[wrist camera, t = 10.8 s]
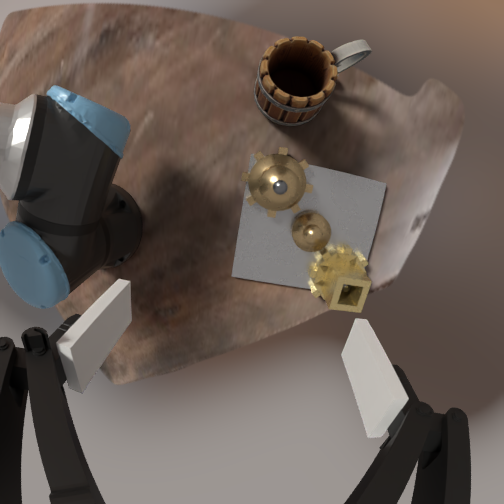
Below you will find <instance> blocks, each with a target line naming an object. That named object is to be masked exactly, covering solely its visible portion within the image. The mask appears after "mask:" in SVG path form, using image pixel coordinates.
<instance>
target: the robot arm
mask: <svg viewBox="0 0 504 504" xmlns="http://www.w3.org/2000/svg"><path fill="white" fill-rule="evenodd" d="M47 95H48V96H41V95H36V94H32V95H30V96H29V97H27V98H26V99H24V100H23V101H21V102H20V103H19V104H16V105H12V104H6V103H0V188H1V190H2V191H3V193H4V194H5V196H6V197H7V199H9V200H19V203H18V210H17V216H16V220H15V221H12V222H9V223H8V224H7V225H6V227H5V228H4V229H2V231H1V232H0V266H1V269H2V271H3V274H4V276H5V278H6V279H7V281H8V283H9V285H10V286H11V287H12V289H13V290H14V291H15V292H16V294H17V295H18V296H19V297H21V299H23V300H24V301H25V302H26V303H28V304H30V305H32V306H34V307H37V308H42V309H45V308H49V307H53V306H54V305H56V304H57V303H59V302H60V301H62V300H65V299H66V298H67V297H68V295H69V294H70V293H71V292H72V291H73V290H75V289H76V288H77V287H78V286H79V285H80V284H82V283H83V282H84V281H85V280H86V279H88V278H89V277H90V276H91V275H92V274H94V273H95V272H96V271H97V270H99V269H106V268H112V267H116V266H118V265H120V264H122V263H124V262H125V261H126V260H127V259H128V258H130V257H131V256H132V255H133V254H134V252H135V251H136V249H137V248H138V246H139V243H140V240H141V235H142V220H141V215H140V212H139V209H138V207H137V205H136V203H135V201H134V200H133V198H132V197H131V196H130V195H129V194H128V193H127V192H126V191H125V190H124V189H123V188H121V187H119V186H117V185H115V184H112V181H113V179H114V176H115V173H116V170H117V167H118V165H119V162H120V159H122V158H123V150H124V147H125V145H126V142H127V139H128V136H129V133H130V124H129V121H128V120H127V119H126V118H125V117H124V116H122V115H120V114H118V113H116V112H114V111H112V110H110V109H108V108H106V107H104V106H102V105H99V104H97V103H95V102H93V101H91V100H88V99H86V98H84V97H82V96H79V95H77V94H75V93H73V92H70V91H68V90H66V89H64V88H61V87H59V86H56V85H54V86H52V87H51V89H50V90H49V91H48V92H47ZM131 321H132V315H131V281H127V280H123V279H118V280H117V281H116V282H115V283H114V284H113V285H112V286H111V287H110V288H109V289H108V290H107V291H106V292H105V293H104V294H103V295H102V296H101V297H100V298H99V299H98V300H97V301H96V302H95V303H94V304H93V305H92V306H91V307H90V308H89V309H88V310H87V311H86V312H85V313H84V314H83V315H79V314H75V315H73V316H71V317H69V318H68V319H67V320H66V321H65V322H64V323H63V324H62V325H61V326H60V327H59V329H57V330H56V331H55V332H54V333H53V334H52V335H51V336H50V337H49V338H48V334H47V331H46V330H44V329H43V328H40V327H32V328H29V329H27V330H25V331H24V332H23V334H22V336H21V338H22V342H23V345H24V348H18V347H15V345H14V342H13V340H12V339H10V338H8V337H1V338H0V504H22V496H21V453H22V438H23V426H24V417H25V409H26V402H27V396H28V390H29V396H30V403H31V410H32V416H33V423H34V428H35V433H36V438H37V443H38V447H39V451H40V455H41V459H42V463H43V466H44V470H45V473H46V477H47V480H48V483H49V486H50V490H51V494H50V495H49V498H50V502H51V504H105V502H104V500H103V498H102V496H101V494H100V491H99V489H98V487H97V485H96V483H95V480H94V478H93V476H92V473H91V471H90V469H89V466H88V464H87V462H86V459H85V456H84V453H83V450H82V448H81V445H80V442H79V439H78V436H77V433H76V430H75V427H74V424H73V420H72V417H71V414H70V410H69V407H68V403H67V399H66V395H65V391H64V388H63V384H64V383H65V381H66V380H67V383H68V386H69V388H70V389H72V390H75V391H77V392H80V393H83V392H84V390H85V389H86V388H87V386H88V384H89V383H90V381H91V380H92V378H93V377H94V375H95V374H96V372H97V371H98V369H99V368H100V366H101V365H102V363H103V362H104V360H105V359H106V357H107V356H108V354H109V353H110V351H111V350H112V349H113V347H114V346H115V344H116V343H117V341H118V340H119V338H120V337H121V336H122V334H123V333H124V331H125V330H126V328H127V327H128V326H129V324H130V323H131ZM341 356H342V359H343V362H344V365H345V368H346V370H347V374H348V377H349V380H350V383H351V386H352V389H353V392H354V395H355V398H356V401H357V404H358V407H359V411H360V413H361V417H362V420H363V424H364V427H365V430H366V434H367V437H368V438H376V437H382V436H383V435H384V433H385V432H386V431H387V430H388V432H389V437H388V438H387V439H386V440H385V442H384V443H383V444H382V446H381V447H380V449H381V450H380V451H379V453H378V455H377V456H376V458H375V459H374V461H373V463H372V464H371V466H370V467H369V469H368V470H367V472H366V474H365V475H364V477H363V478H362V480H361V481H360V483H359V484H358V485H357V487H356V488H355V490H354V491H353V492H352V494H351V495H350V496H349V498H348V499H347V501H346V502H345V503H344V504H397V502H398V500H399V498H400V497H401V495H402V493H403V491H404V489H405V487H406V485H407V483H408V481H409V479H410V476H411V474H412V472H413V470H414V468H415V465H416V463H417V461H418V467H417V474H416V480H415V486H414V492H413V497H412V502H411V504H470V496H471V456H470V439H469V427H468V418H467V415H466V414H465V413H464V412H463V411H462V410H461V409H458V408H450V409H449V410H448V411H447V413H446V414H440V413H434V411H433V409H432V408H431V407H430V406H429V405H428V404H426V403H424V402H420V401H419V399H418V398H417V396H416V394H415V392H414V390H413V388H412V386H411V384H410V382H409V381H408V379H407V377H406V375H405V373H404V371H403V370H402V369H401V368H400V367H399V366H398V365H392V364H391V363H390V361H389V359H388V357H387V355H386V353H385V351H384V350H383V348H382V346H381V344H380V342H379V340H378V339H377V337H376V335H375V333H374V331H373V329H372V328H371V326H370V324H369V322H368V320H367V319H358V318H356V319H355V321H354V324H353V326H352V329H351V332H350V334H349V337H348V339H347V342H346V345H345V347H344V349H343V352H342V354H341ZM418 458H419V459H418Z"/></svg>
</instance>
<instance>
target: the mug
mask: <svg viewBox="0 0 504 504" xmlns="http://www.w3.org/2000/svg"><path fill="white" fill-rule="evenodd" d="M371 52H372V51H371V49H370V47H369V46H368V45H367V43H366V41H365V40H357V41H353V42H350V43H347V44H345V45H342V46H340V47H338V48H337V49H335V50H333V51H332V52H329V51H325V50H324V46H322V44H320V43H318V42H317V41H314V40H311V41H308V40H307V39H306V38H305V37H292V39H291V40H290V39H288V38H284V39H280V40H279V41H277V42H275V44H274V46H270V47H269V48H268V49H267V50H266V52H265V54H264V55H263V57H262V59H261V61H260V63H259V68H258V74H257V79H256V82H255V88H254V97H255V102H256V104H257V106H258V109H259V110H260V111H261V112H262V114H263V115H264V116H265V117H267V118H268V119H269V120H271V121H273V122H275V123H277V124H280V125H285V126H298V125H301V124H304V123H307V122H308V121H310V120H311V119H313V118H314V117H315V116H316V115H317V114H318V113H319V111H320V110H321V108H322V106H323V104H324V103H325V102H326V101H327V100H328V98H329V97H330V96H331V94H332V93H333V90H334V88H335V86H336V80H337V77H338V76H339V75H338V73H340V72H342V71H344V70H346V69H348V68H350V67H351V66H353V65H355V64H356V63H358V62H360V61H361V60H363V59H364V58H366V57H367V56H368V55H369V54H370V53H371Z"/></svg>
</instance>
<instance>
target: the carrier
mask: <svg viewBox="0 0 504 504" xmlns="http://www.w3.org/2000/svg"><path fill="white" fill-rule="evenodd" d="M287 152H288V148H283V147H279V150H278V154H271V155H268V156H263V154H262V153H261V152H260V151H259V152H258V153H256V154H251V158H250V164H249V170H248V172H243V173H242V179H241V181H246V188H245V194H244V200H243V206H242V213H241V219H240V225H239V231H238V238H237V244H236V251H235V257H234V264H233V270H232V277H238V278H244V279H250V280H256V281H262V282H268V283H274V284H281V285H287V286H293V287H300V288H306V289H311V287H312V286H314V284H313V281H312V278H311V277H309V275H308V269H309V266H314V267H315V265H316V261H317V260H318V259H320V258H321V257H322V255H321V253H320V251H321V250H323V249H324V248H326V249H327V250H328V252H330V251H332V250H333V249H339V250H341V248H342V244H345V245H349V246H350V247H351V248H352V249H353V250H352V252H354V253H355V254H356V255H357V256H358V257H359V256H360V255H361V254H362V255H363V256H364V257H365V258H366V260H367V259H368V256H369V252H370V249H371V245H372V242H373V238H374V234H375V231H376V227H377V223H378V219H379V215H380V211H381V206H382V202H383V198H384V193H385V189H386V183H383V182H379V181H375V180H372V179H368V178H364V177H360V176H356V175H352V174H348V173H344V172H340V171H336V170H332V169H327V168H323V167H318V166H314V165H309V164H308V163H307V162H306V160H305V159H303V160H301V161H300V162H297V161H296V160H294V159H293V158H291V157H289V156H287ZM364 269H365V267H364ZM350 289H351V285H347V284H343V287H342V290H341V291H343V292H347V291H349V290H350Z"/></svg>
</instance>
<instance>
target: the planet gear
mask: <svg viewBox="0 0 504 504" xmlns="http://www.w3.org/2000/svg"><path fill="white" fill-rule="evenodd" d="M352 250H353V249H352V248H351V247H350V246H349V245H345V244H342V248H341V250H339V249H333V250H332V251H330V252H328V250H327V249H326V248H324V249H323V250H321V251H320V253H321V255H322V257H321V258H320V259H318V260H317V261H316V265H315V267H314V266H309V269H308V275H309V277H311V278H312V281H313V284H314V286H312V287H311V291H312V294H313V295H314V297H315V298H317V297H319V296H320V295H321V296H322V297H323V299H324V300H326V303H327V305H328V308H329V309H333V310H342V311H349V312H358V313H361V311H362V308H363V305H364V303H365V300H366V297H367V294H368V291H369V288H370V285H371V282H372V281H371V280H370V279H369V278H368V276H367V275H366V273H367V272H366V271H365V269H364V267H365V266H367V265H368V262H367V260H366V258H365V257H364V256H363V255H362V254H361V255H360V256H359V257H358V256H357V255H356V254H355V253H354V252H352ZM343 284H347V285H351V289H350V290H349V291H347V292H343V291H341V290H342V287H343Z"/></svg>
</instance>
